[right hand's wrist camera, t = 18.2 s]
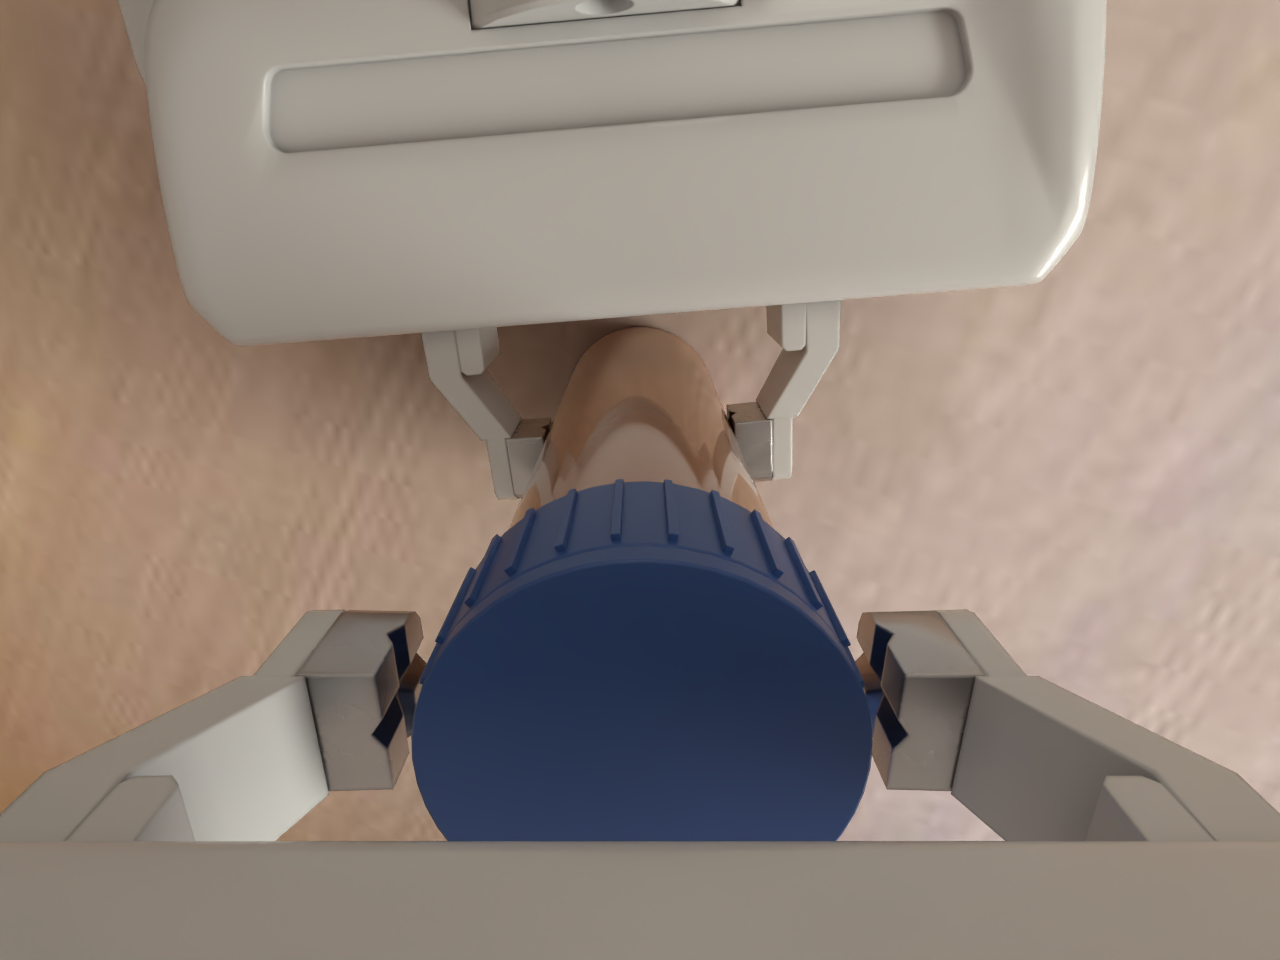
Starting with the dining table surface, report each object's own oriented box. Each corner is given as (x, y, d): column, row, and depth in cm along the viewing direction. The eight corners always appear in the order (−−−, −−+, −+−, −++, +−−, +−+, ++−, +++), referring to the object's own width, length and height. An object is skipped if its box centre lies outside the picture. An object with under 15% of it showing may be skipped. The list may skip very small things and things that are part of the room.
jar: (539, 387, 24) (364, 695, 9) (653, 295, 23) (681, 466, 8) (629, 492, 25) (612, 915, 10) (741, 411, 24) (909, 748, 9)
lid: (604, 845, 12) (597, 987, 10) (373, 614, 10) (301, 723, 8) (898, 684, 11) (963, 805, 8) (688, 393, 9) (702, 452, 7)
